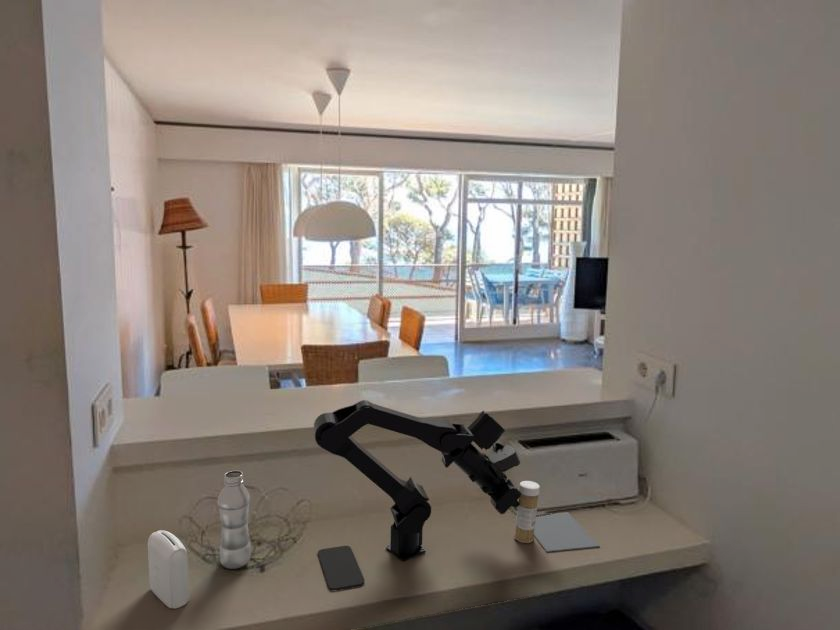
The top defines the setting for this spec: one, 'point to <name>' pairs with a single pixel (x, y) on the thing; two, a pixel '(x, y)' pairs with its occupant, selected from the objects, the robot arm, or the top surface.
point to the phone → (340, 568)
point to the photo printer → (168, 569)
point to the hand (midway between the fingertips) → (517, 505)
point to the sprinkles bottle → (527, 511)
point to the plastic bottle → (234, 522)
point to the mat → (561, 533)
